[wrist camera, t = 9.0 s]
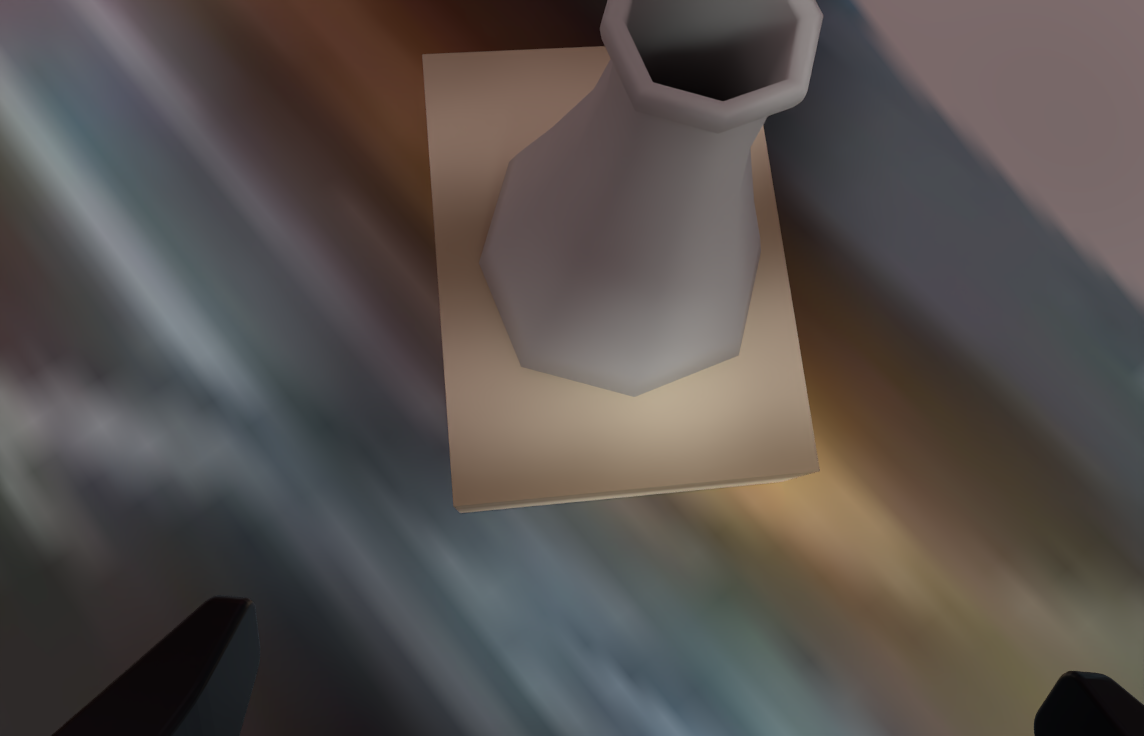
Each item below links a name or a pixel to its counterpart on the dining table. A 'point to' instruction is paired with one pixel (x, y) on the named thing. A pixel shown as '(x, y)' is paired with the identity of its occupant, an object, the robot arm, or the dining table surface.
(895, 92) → the dining table surface
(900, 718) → the dining table surface
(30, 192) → the dining table surface
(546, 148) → the flask
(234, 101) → the dining table surface
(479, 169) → the foundation block
